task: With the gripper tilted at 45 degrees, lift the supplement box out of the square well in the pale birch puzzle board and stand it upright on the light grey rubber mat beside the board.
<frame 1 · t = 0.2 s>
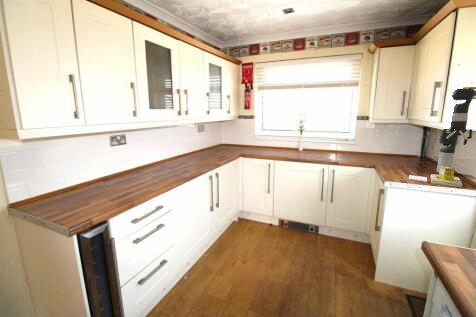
hand: (455, 144, 159), 29 cm above the worktop, tool pointing down, fingers open, 8 cm apart
puzzle board: (444, 181, 172), on the worktop
supplement box: (444, 182, 172), resting in puzzle board
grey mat: (417, 179, 179), on the worktop
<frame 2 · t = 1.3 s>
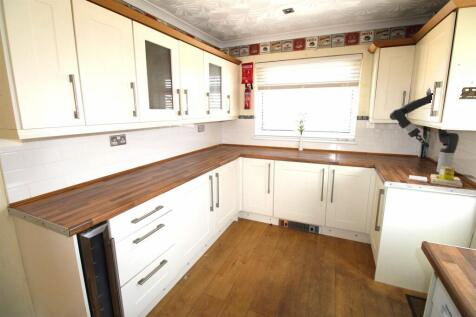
hand: (427, 146, 178), 25 cm above the worktop, tool tilted 45°, fingers open, 8 cm apart
nothing on the worktop moved.
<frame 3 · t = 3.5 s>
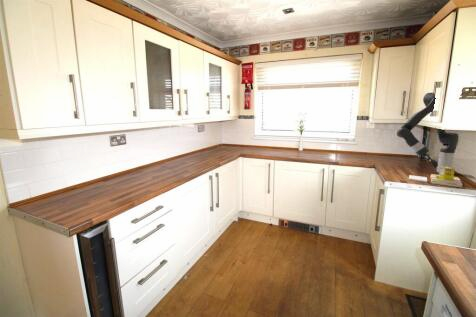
hand: (436, 165, 173), 11 cm above the worktop, tool tilted 45°, fingers open, 8 cm apart
nothing on the worktop moved.
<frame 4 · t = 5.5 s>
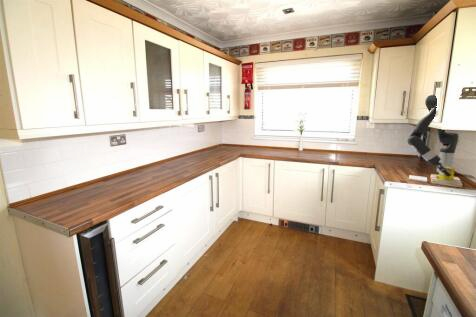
hand: (448, 174, 170), 6 cm above the worktop, tool tilted 45°, fingers closed on supplement box, 8 cm apart
supplement box: (444, 182, 172), resting in puzzle board, touching gripper
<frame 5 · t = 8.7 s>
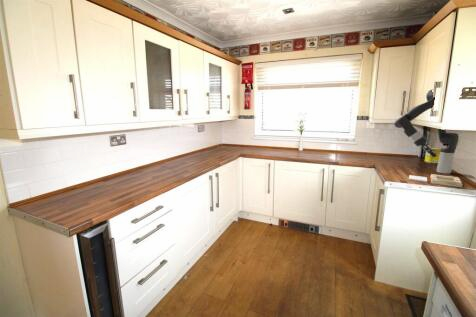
hand: (434, 155, 172), 19 cm above the worktop, tool tilted 45°, fingers closed on supplement box, 8 cm apart
supplement box: (430, 163, 173), point 13 cm above the worktop, touching gripper
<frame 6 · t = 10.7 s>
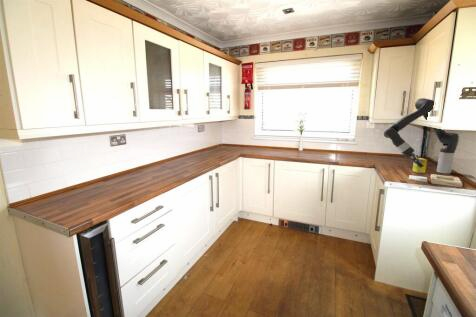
hand: (421, 165, 176), 11 cm above the worktop, tool tilted 45°, fingers closed on supplement box, 8 cm apart
supplement box: (418, 173, 178), point 5 cm above the worktop, touching gripper
when the fingers open (8 cm above the worktop, at t = 12.0 s): supplement box drops 1 cm, resting on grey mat.
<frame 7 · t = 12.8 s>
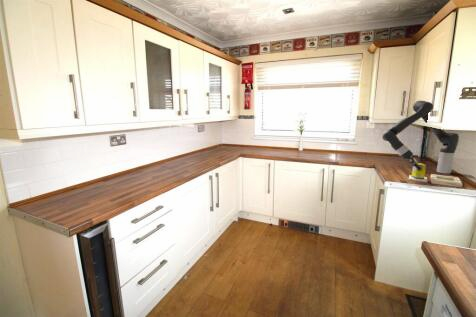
hand: (420, 168, 177), 8 cm above the worktop, tool tilted 45°, fingers open, 8 cm apart
supplement box: (417, 178, 179), point 1 cm above the worktop, touching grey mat
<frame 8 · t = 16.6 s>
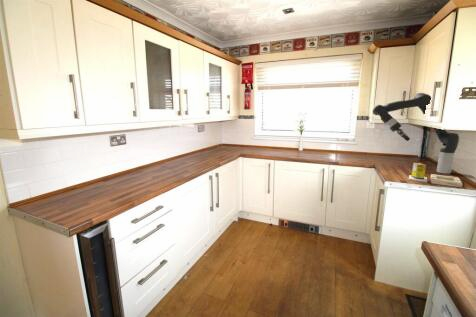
hand: (408, 139, 185), 29 cm above the worktop, tool tilted 45°, fingers open, 8 cm apart
nothing on the worktop moved.
at the end: supplement box inside the target area (0.2 cm from its centre), point 0.8 cm above the worktop; supplement box tilted 0°; the gripper is holding nothing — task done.
